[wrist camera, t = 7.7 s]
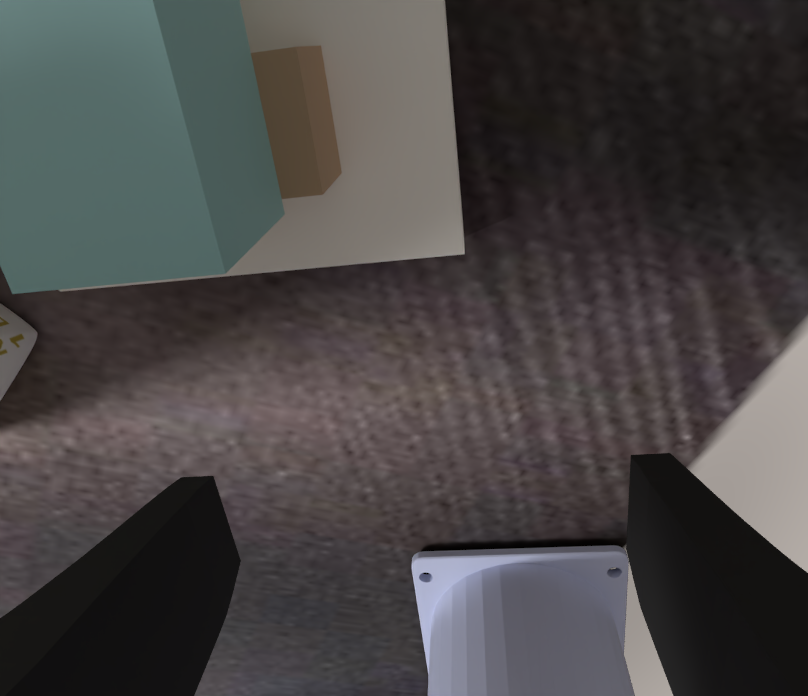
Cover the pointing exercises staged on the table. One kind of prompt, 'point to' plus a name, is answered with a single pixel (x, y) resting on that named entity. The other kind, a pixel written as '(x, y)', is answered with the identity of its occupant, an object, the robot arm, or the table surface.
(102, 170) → the teal bar
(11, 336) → the juice carton
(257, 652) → the table surface
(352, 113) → the display stand
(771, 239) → the table surface
